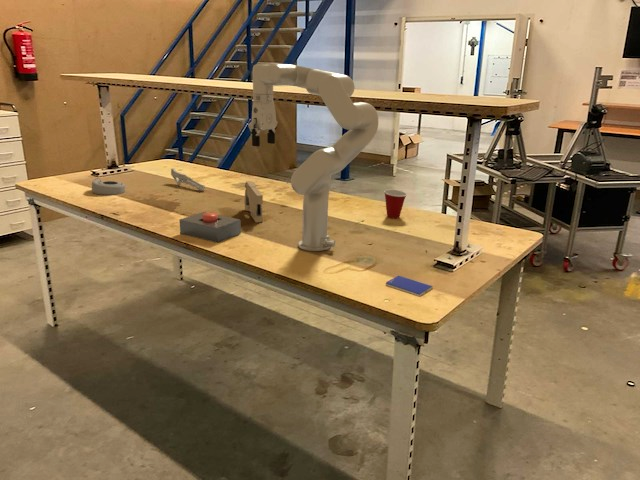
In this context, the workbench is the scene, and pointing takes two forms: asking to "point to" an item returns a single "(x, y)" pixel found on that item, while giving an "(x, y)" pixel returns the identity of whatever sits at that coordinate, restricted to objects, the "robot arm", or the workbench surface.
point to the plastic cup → (394, 202)
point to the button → (209, 217)
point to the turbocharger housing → (107, 187)
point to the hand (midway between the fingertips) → (263, 144)
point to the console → (210, 227)
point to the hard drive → (408, 285)
